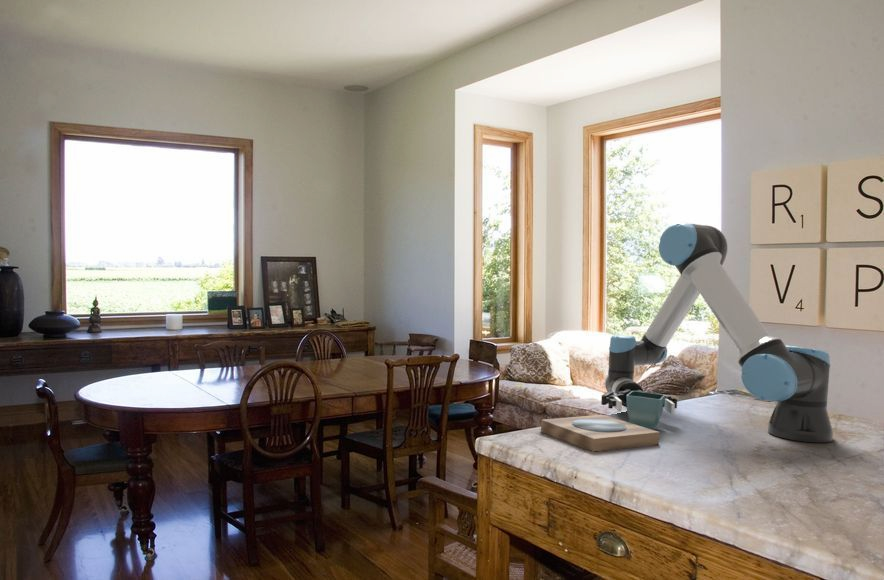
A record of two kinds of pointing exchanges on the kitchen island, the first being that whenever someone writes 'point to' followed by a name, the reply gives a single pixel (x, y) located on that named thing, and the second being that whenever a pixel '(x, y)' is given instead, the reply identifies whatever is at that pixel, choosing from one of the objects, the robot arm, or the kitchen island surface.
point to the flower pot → (644, 408)
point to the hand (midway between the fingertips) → (646, 407)
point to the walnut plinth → (599, 432)
